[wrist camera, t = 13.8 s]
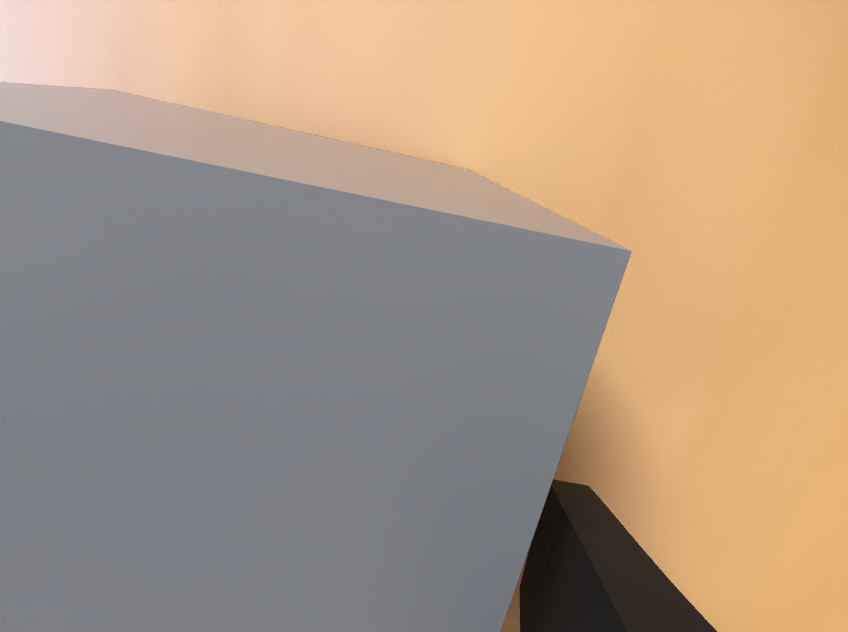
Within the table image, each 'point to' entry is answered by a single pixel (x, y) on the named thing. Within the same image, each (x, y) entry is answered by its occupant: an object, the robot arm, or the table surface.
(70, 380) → the grey block
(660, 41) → the table surface
